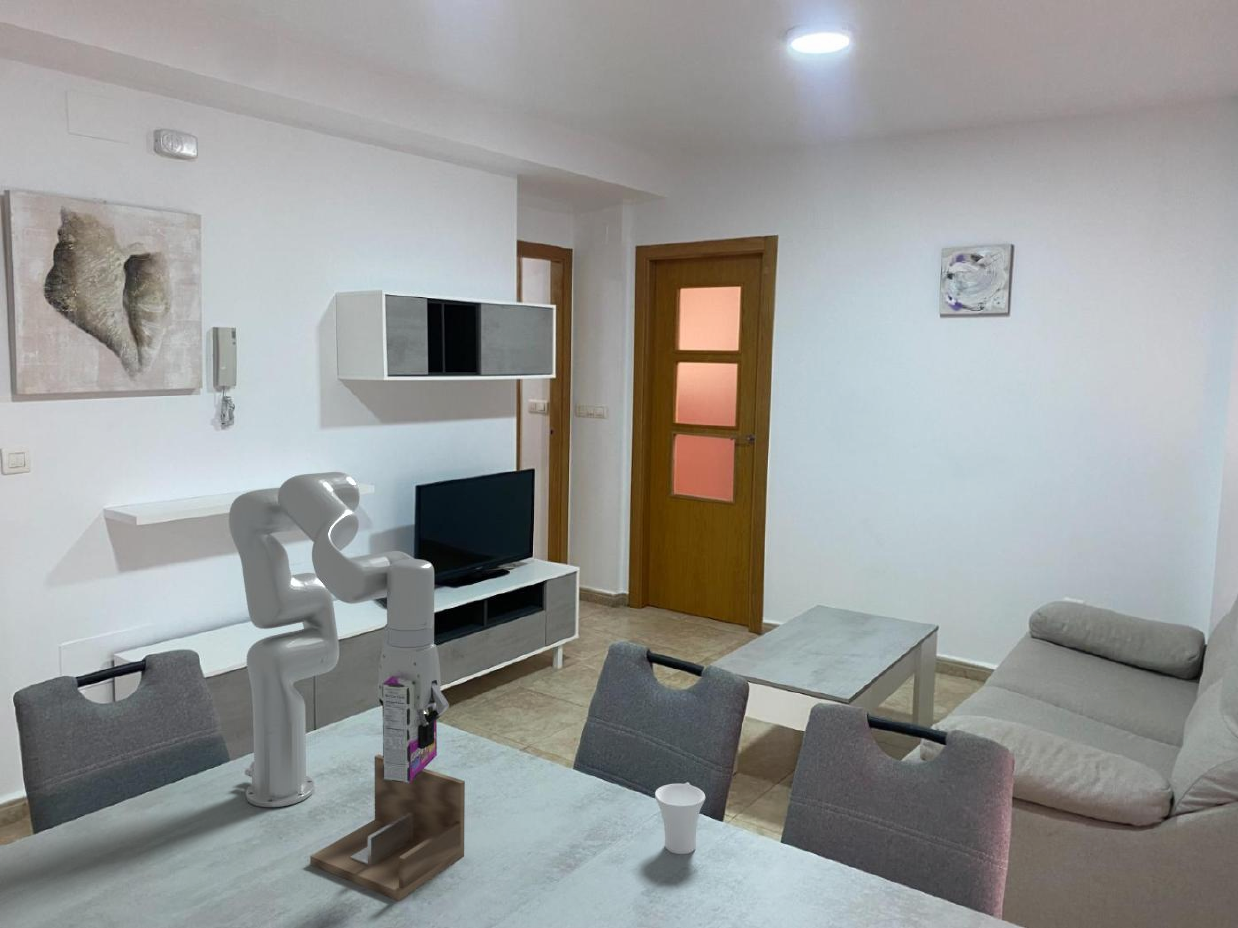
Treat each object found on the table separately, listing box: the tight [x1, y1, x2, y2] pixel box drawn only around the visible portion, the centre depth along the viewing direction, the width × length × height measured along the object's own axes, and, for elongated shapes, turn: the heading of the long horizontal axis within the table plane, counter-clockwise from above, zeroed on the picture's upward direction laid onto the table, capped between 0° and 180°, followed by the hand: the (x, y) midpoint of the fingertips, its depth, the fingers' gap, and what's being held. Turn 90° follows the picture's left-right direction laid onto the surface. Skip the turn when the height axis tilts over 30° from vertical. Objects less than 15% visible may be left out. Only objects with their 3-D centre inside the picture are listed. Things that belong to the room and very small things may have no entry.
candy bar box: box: [382, 677, 438, 783], centre depth 153 cm, size 11×5×16 cm, turn 168°
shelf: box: [309, 754, 466, 901], centre depth 158 cm, size 20×16×14 cm
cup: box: [654, 782, 706, 855], centre depth 165 cm, size 9×9×10 cm
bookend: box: [350, 812, 413, 867], centre depth 159 cm, size 5×10×5 cm, turn 150°
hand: (410, 740), depth 153 cm, fingers closed on candy bar box, 6 cm apart
